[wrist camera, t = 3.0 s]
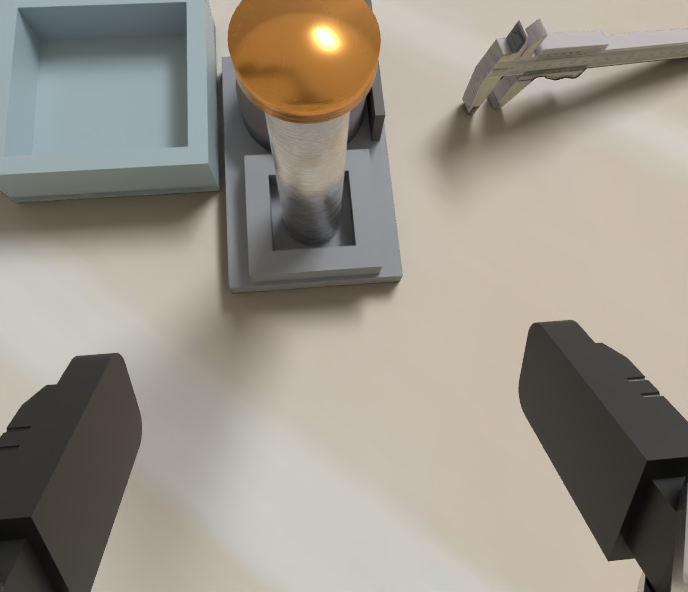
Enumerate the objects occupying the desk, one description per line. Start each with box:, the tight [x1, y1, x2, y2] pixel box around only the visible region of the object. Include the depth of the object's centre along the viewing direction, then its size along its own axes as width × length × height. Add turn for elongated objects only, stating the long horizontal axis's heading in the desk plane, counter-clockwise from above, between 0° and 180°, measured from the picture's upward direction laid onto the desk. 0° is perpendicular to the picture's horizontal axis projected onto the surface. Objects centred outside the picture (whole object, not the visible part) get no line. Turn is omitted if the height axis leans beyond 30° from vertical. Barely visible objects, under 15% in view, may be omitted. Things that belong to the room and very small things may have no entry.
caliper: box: [462, 19, 688, 114], centre depth 29 cm, size 20×1×6 cm, turn 107°
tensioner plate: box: [222, 0, 403, 293], centre depth 27 cm, size 9×16×4 cm, turn 5°
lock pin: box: [228, 0, 381, 246], centre depth 21 cm, size 4×4×13 cm
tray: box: [0, 0, 220, 203], centre depth 28 cm, size 11×11×3 cm
